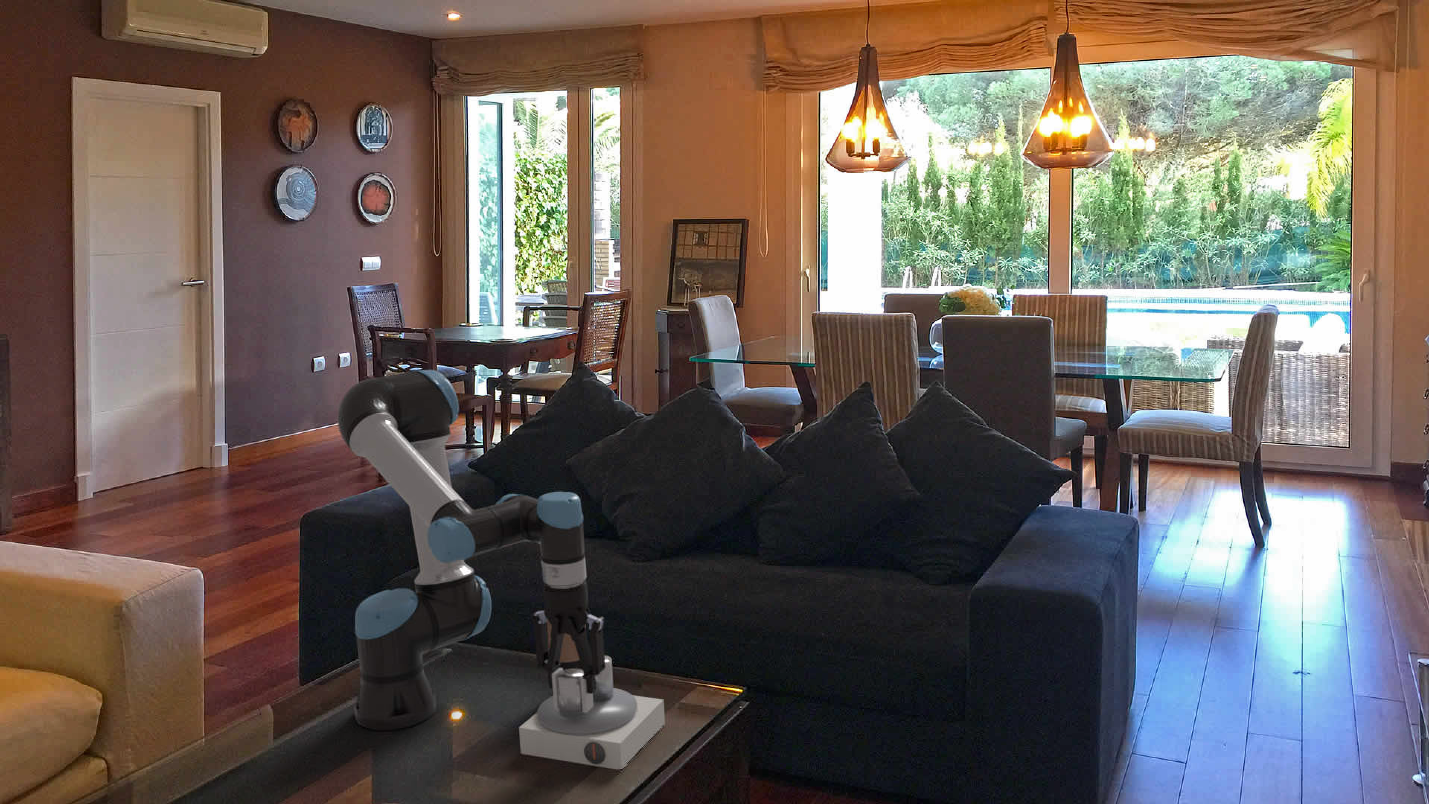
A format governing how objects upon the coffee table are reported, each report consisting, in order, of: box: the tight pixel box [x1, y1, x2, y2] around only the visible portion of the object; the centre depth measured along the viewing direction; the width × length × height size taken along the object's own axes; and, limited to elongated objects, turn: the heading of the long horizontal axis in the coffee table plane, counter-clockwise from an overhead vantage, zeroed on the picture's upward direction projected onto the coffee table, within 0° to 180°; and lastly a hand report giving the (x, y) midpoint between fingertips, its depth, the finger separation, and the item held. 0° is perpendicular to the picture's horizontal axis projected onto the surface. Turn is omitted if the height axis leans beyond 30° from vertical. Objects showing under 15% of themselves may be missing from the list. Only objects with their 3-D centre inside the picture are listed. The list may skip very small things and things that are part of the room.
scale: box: [518, 687, 666, 771], centre depth 219 cm, size 20×18×6 cm
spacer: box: [557, 669, 586, 718], centre depth 214 cm, size 5×5×7 cm
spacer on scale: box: [593, 654, 614, 702], centre depth 223 cm, size 5×5×7 cm
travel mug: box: [544, 604, 587, 695], centre depth 237 cm, size 8×8×20 cm
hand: (573, 707), depth 214 cm, fingers closed on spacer, 5 cm apart
